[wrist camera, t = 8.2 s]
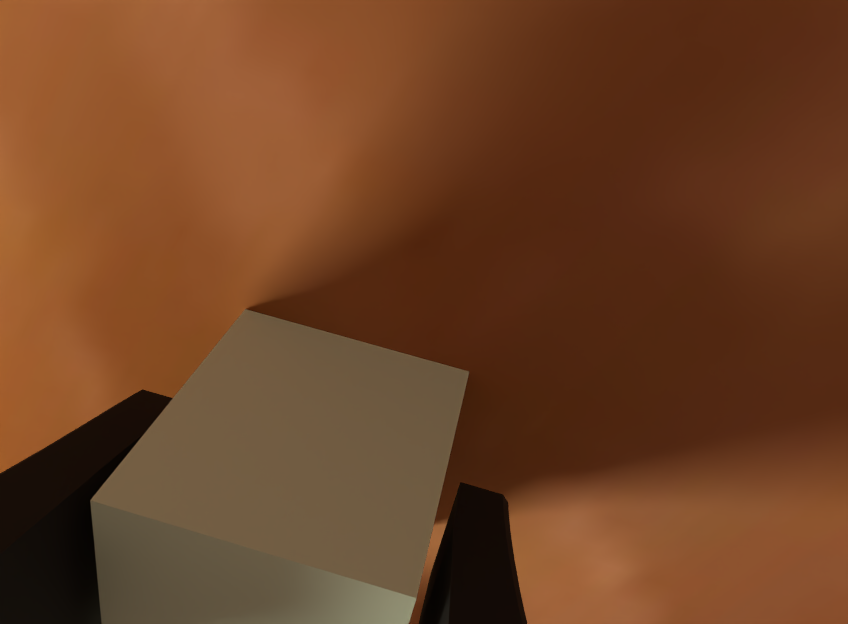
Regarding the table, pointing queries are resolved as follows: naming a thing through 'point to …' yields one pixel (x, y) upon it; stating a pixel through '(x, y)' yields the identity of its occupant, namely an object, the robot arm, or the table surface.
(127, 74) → the table surface
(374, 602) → the block
